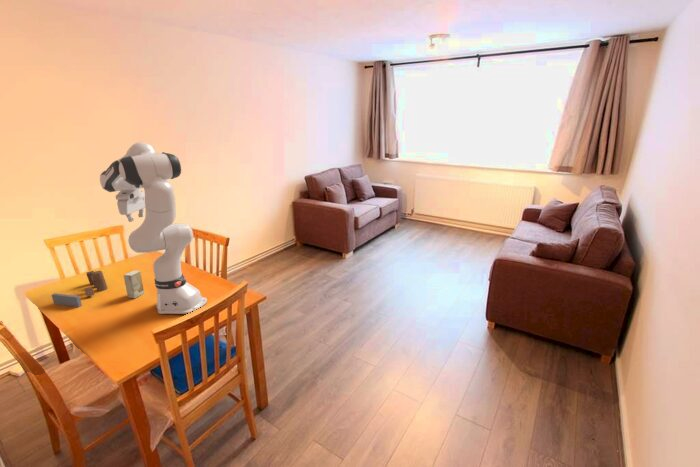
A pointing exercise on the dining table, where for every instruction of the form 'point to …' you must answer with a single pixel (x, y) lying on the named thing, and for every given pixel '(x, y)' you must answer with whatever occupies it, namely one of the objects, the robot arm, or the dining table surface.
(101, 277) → the wooden block set
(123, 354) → the dining table surface
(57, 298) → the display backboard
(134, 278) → the skincare box
